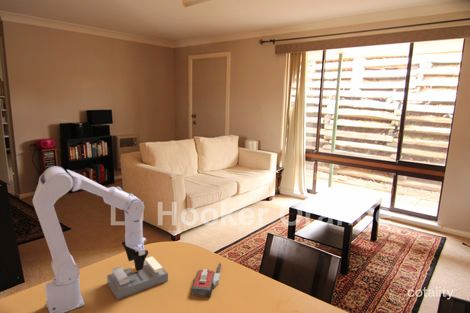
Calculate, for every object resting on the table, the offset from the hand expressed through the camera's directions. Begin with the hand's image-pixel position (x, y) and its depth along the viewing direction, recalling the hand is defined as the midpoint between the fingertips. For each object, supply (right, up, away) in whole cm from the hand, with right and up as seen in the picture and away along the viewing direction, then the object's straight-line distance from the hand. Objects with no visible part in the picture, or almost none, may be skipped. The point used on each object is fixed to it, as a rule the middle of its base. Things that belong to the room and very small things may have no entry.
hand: (135, 264), depth 110 cm
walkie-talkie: (+26, -7, +2) cm, 27 cm away
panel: (+1, -6, 0) cm, 6 cm away
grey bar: (-4, -2, -5) cm, 6 cm away
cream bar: (+6, -1, +2) cm, 7 cm away
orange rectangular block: (0, -2, +1) cm, 2 cm away
